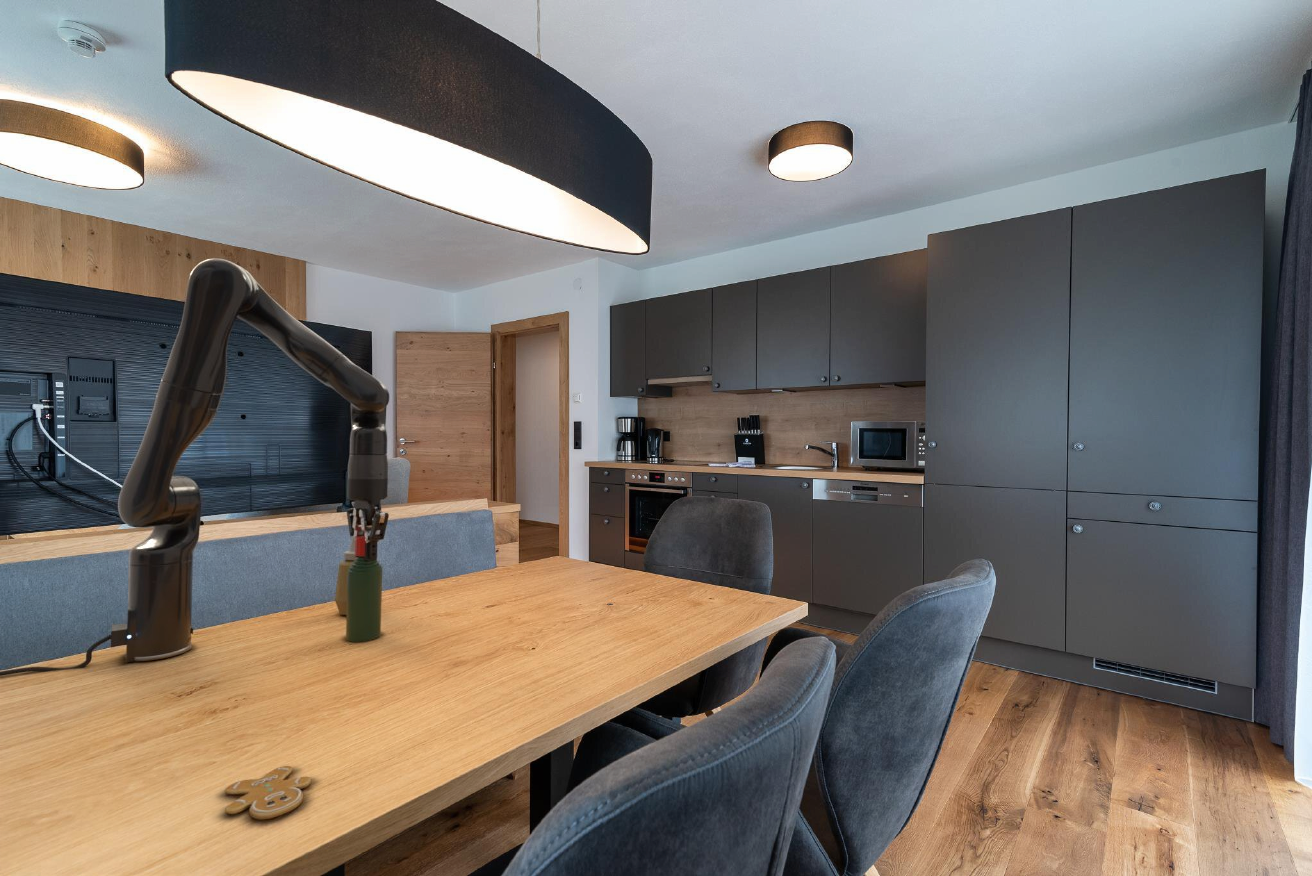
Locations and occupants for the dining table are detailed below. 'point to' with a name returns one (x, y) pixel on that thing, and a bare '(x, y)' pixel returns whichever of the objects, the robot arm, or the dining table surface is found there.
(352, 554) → the squeeze bottle
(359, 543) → the cap
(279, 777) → the cookie
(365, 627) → the sauce bottle
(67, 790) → the dining table surface
